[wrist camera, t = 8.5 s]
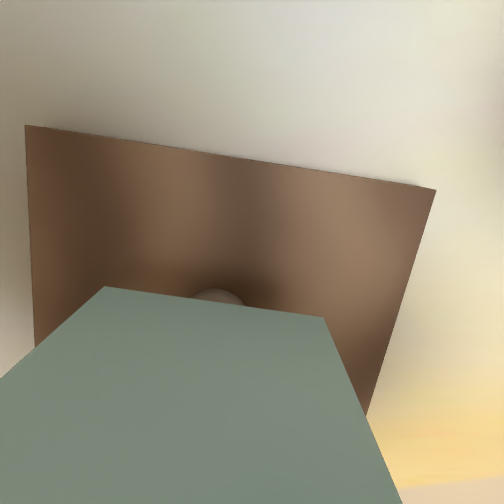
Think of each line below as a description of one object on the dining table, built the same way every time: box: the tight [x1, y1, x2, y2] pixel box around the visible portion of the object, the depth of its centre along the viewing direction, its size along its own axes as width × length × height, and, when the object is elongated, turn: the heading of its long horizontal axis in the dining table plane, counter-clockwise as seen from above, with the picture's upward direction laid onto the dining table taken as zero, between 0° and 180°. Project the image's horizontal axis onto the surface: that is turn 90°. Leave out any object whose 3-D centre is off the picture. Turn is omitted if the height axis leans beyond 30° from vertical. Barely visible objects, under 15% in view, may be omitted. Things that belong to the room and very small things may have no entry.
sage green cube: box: [0, 286, 402, 504], centre depth 8 cm, size 6×6×6 cm
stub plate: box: [25, 125, 436, 417], centre depth 14 cm, size 16×14×5 cm
